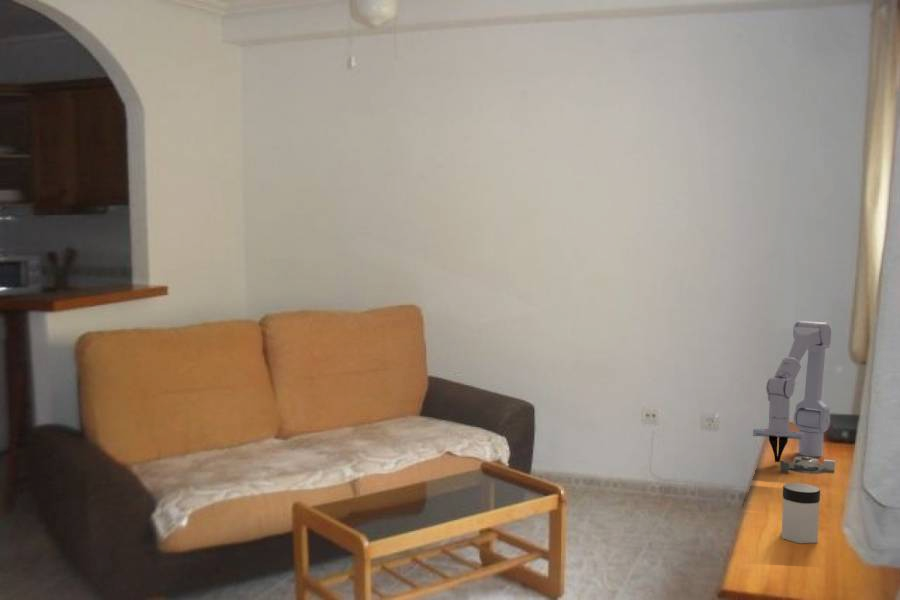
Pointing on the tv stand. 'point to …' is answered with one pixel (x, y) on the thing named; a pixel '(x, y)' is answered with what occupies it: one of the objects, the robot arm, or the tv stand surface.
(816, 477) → the tv stand surface
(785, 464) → the stacked blocks
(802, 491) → the jar
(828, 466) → the turntable
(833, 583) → the tv stand surface
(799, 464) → the cover
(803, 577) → the tv stand surface
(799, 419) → the robot arm
